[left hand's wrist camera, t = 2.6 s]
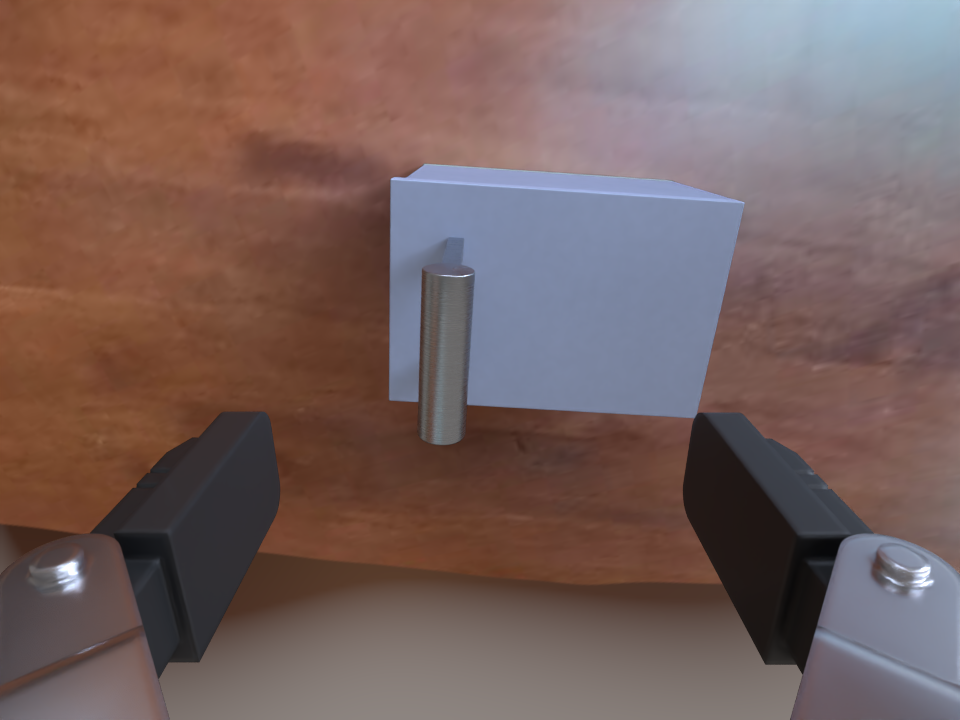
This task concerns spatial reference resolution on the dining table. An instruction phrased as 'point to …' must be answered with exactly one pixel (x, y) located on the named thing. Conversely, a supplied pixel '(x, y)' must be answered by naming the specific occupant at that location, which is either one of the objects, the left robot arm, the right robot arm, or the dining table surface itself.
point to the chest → (558, 180)
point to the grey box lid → (552, 299)
